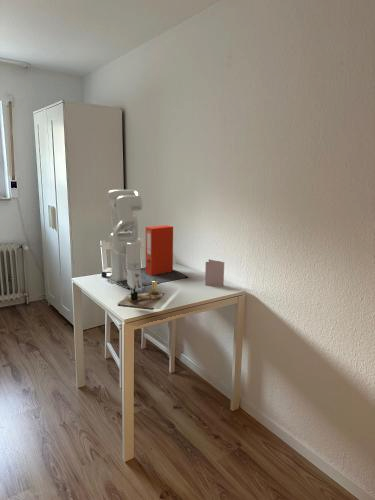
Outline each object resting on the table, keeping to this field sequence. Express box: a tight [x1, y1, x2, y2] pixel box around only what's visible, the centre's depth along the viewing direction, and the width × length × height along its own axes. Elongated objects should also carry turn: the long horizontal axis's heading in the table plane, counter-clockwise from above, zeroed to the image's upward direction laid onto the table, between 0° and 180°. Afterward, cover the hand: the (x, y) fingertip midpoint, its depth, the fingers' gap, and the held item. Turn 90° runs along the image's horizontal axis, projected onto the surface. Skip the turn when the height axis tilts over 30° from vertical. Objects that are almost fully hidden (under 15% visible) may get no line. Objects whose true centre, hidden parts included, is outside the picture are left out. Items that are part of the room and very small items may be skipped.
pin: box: [151, 279, 158, 296], centre depth 195 cm, size 3×3×9 cm
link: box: [127, 290, 164, 301], centre depth 193 cm, size 18×6×2 cm, turn 119°
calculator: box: [101, 267, 112, 278], centre depth 240 cm, size 11×4×15 cm
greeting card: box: [204, 259, 225, 286], centre depth 221 cm, size 11×7×15 cm, turn 54°
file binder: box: [145, 224, 174, 276], centre depth 245 cm, size 8×17×32 cm, turn 127°
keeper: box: [138, 285, 147, 294], centre depth 198 cm, size 2×7×4 cm, turn 165°
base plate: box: [117, 291, 166, 311], centre depth 193 cm, size 19×22×2 cm
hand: (134, 299), depth 187 cm, fingers closed
